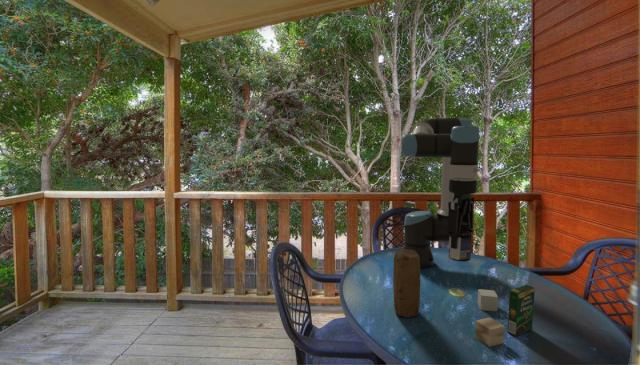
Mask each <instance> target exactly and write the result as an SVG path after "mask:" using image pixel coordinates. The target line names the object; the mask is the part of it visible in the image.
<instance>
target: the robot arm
mask: <svg viewBox="0 0 640 365" xmlns="http://www.w3.org/2000/svg"><path fill="white" fill-rule="evenodd" d="M480 139H481V136H480V127H479V126H477V125H472V122H471V119H469V118H468V117H467V118H466V117H443V118H441V117H439V118H436V117H435V118H433V117H432V118H426V119H424V120H421V121H419V122H417V123H415V124H414V125H413V126H412V127H411V129H410V131H409V133H405V134H403V135H402V137H401V156H403V157H405V158H406V157H407V158H442V167H441V170H442V171H441V190H440V191H441V193H440V208H439V209H438V210H437V211H436V215H433V213H432V212H431V211H428V210H419V211H418V210H415V211H411V212H409V213H407V214H405V216H404V223H403V226H404V229H403V230H404V233H403V247H402V249H412V250H414V251H416V252H417V254H418V255H419V257H420V269H425V268H430V267H433V266H434V265H435V258H434V255H433V251H432V247H431V243H432V242H435V243H447V244H449V237H451V238H450V258H452V259H457V260H460V245H461V238H460V237H459V236H460V230H461V224H462V221H463V222H468V223H469V228H468V230H469V231H470V232H471V234H473V233H474V215H475V214H474V211H475V208H474V207H475V201H476V200H475V197H472V196H471V195H473V194H476V193H477V189H478V188H477V187H478V181H477V180H476V179H478V173H479V172H480V169H479V167H478V166H479V150H480V149H479V148H480ZM450 258H449V259H450ZM452 259H451V260H452Z"/></svg>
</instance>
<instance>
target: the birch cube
mask: <svg viewBox="0 0 640 365" xmlns="http://www.w3.org/2000/svg"><path fill="white" fill-rule="evenodd" d="M474 330H475V332H474V334H475V335H474V336H475V338H476V339H477V340H479V341H480V342H482V343H483V344H484V345H486V346H487V347H490V348H491V347H494V346H497V345H501V344H504V341H505V340H504V339H505V325H504V324H502V323H500V322H498V321H497V320H495V319H493V318H492V317H486V318H485V317H484V318H481V319H477V320H475V329H474Z"/></svg>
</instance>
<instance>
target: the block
mask: <svg viewBox="0 0 640 365" xmlns="http://www.w3.org/2000/svg"><path fill="white" fill-rule="evenodd" d="M393 258H394V259H393V269H392V270H393V271H392V272H393V275H392V276H393V277H392V278H393V280H392V281H393V282H392V286H393V288H392V290H393V306H394V312H395V313H396V315H398V316H400V317H404V318H413V317H415V316H418V315H419V311H420V307H421V306H420V304H421V302H420V300H421V268H420V257H419V255H418V254H417V252H416V251H414V250H412V249H403V248H402V249H397V250H396V251H395V253H394V257H393Z"/></svg>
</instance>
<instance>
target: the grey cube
mask: <svg viewBox="0 0 640 365" xmlns="http://www.w3.org/2000/svg"><path fill="white" fill-rule="evenodd" d="M477 305H478V307H479V309H480V310H479V311H489V312H498V306H499V296H498V295H497V293H496V291H495V290H492V289H482V288H480V289H477Z"/></svg>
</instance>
